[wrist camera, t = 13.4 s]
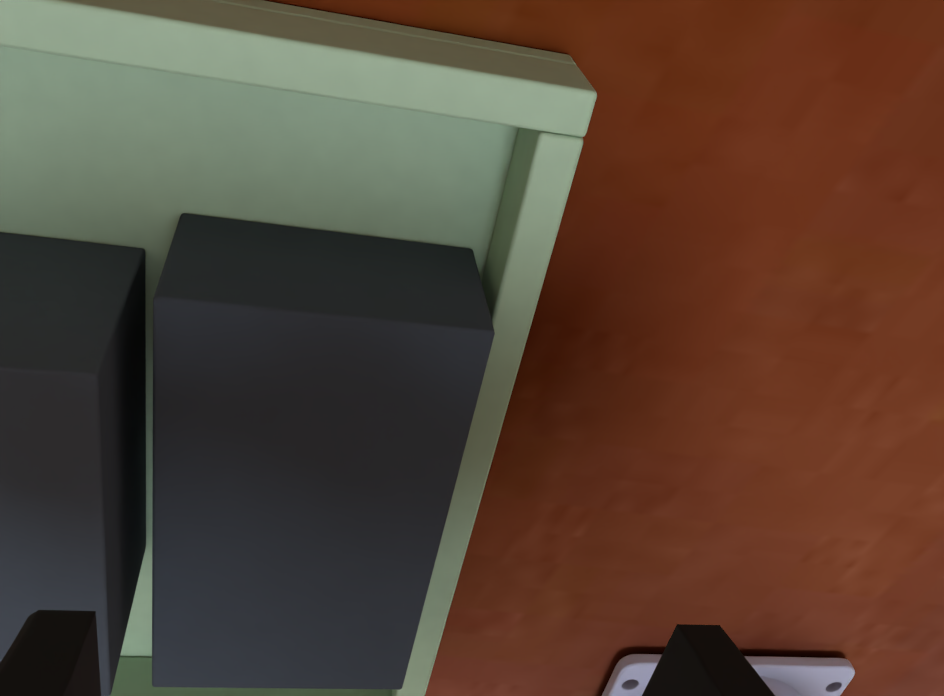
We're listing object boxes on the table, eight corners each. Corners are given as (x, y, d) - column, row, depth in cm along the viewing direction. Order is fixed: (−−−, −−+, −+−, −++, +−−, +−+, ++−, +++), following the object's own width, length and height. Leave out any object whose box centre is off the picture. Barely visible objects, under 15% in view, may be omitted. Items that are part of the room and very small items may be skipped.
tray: (411, 659, 25) (416, 726, 24) (-201, 649, 22) (-247, 725, 20) (571, 54, 16) (599, 92, 14) (-472, -133, 12) (-602, -111, 11)
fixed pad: (395, 587, 22) (402, 690, 20) (172, 579, 21) (151, 688, 19) (473, 247, 17) (496, 332, 15) (180, 211, 16) (152, 296, 13)
